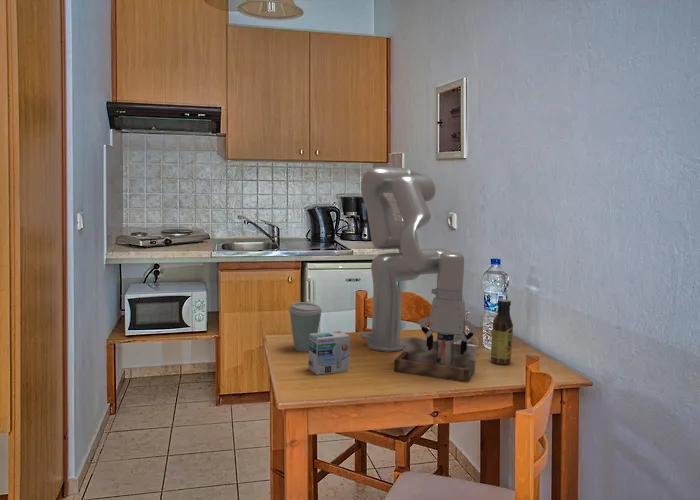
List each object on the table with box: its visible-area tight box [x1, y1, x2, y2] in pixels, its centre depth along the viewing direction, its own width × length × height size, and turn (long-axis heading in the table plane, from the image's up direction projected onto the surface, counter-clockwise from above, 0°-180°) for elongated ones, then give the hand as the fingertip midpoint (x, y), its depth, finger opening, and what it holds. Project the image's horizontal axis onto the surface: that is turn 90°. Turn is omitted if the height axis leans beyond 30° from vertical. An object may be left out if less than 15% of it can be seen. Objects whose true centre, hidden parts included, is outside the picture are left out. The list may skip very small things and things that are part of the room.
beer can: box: [436, 333, 454, 366], centre depth 188 cm, size 5×5×12 cm
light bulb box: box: [307, 330, 351, 376], centre depth 186 cm, size 11×7×11 cm, turn 117°
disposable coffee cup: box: [288, 301, 323, 353], centre depth 206 cm, size 11×11×15 cm
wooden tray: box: [393, 335, 477, 382], centre depth 189 cm, size 22×11×8 cm, turn 70°
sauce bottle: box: [490, 298, 514, 365], centre depth 199 cm, size 6×6×20 cm
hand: (446, 351), depth 188 cm, fingers open, 9 cm apart
